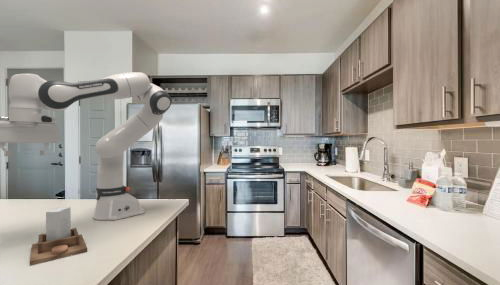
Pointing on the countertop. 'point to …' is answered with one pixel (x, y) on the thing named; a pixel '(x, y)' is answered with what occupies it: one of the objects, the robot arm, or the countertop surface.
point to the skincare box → (58, 223)
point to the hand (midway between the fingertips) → (25, 155)
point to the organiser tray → (57, 248)
